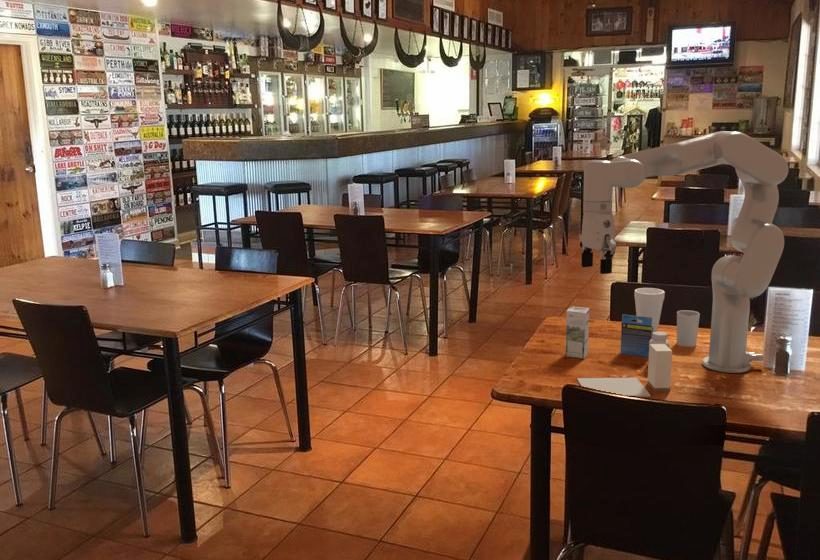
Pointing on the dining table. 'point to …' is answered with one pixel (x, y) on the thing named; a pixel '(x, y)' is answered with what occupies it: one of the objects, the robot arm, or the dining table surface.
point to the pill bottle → (658, 339)
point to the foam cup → (649, 304)
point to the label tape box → (636, 335)
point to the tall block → (659, 367)
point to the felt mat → (616, 386)
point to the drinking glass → (687, 328)
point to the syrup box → (577, 332)
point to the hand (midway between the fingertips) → (596, 270)
